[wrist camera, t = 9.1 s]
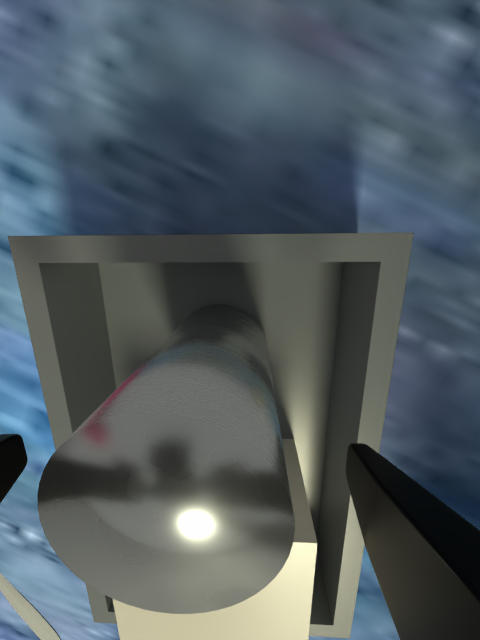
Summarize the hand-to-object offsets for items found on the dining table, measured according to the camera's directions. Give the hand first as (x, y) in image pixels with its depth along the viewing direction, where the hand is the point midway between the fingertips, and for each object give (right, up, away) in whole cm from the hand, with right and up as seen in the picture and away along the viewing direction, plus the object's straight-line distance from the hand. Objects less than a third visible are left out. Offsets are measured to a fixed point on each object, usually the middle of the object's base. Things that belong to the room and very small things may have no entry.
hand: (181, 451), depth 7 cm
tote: (+1, -3, +10) cm, 10 cm away
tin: (+1, +2, +8) cm, 8 cm away
